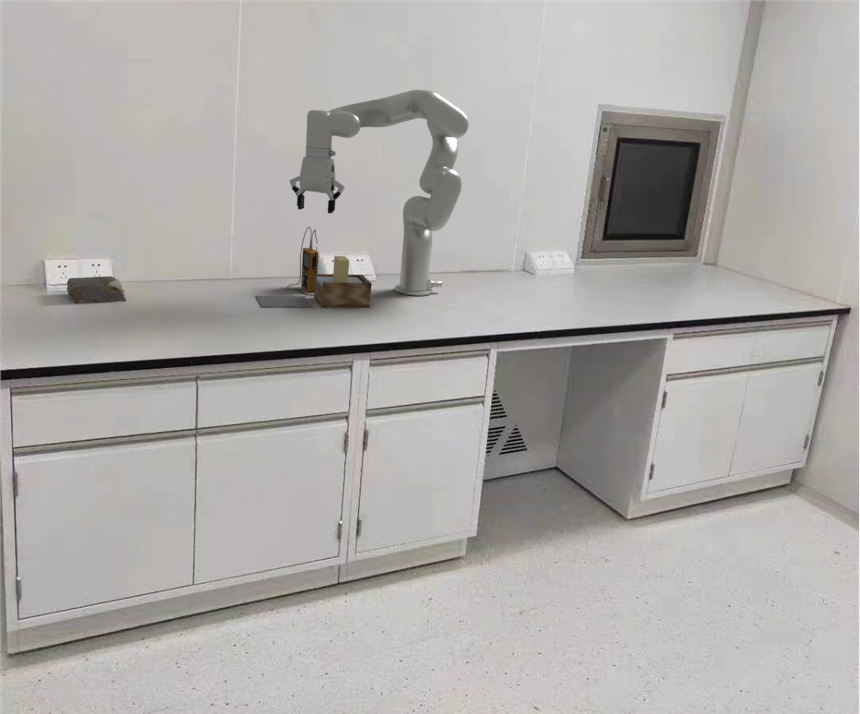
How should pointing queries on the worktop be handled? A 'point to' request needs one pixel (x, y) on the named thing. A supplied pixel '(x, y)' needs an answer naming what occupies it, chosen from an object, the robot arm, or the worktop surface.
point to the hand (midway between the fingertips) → (315, 210)
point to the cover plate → (330, 279)
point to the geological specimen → (95, 289)
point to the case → (343, 293)
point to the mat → (284, 301)
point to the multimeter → (308, 267)
